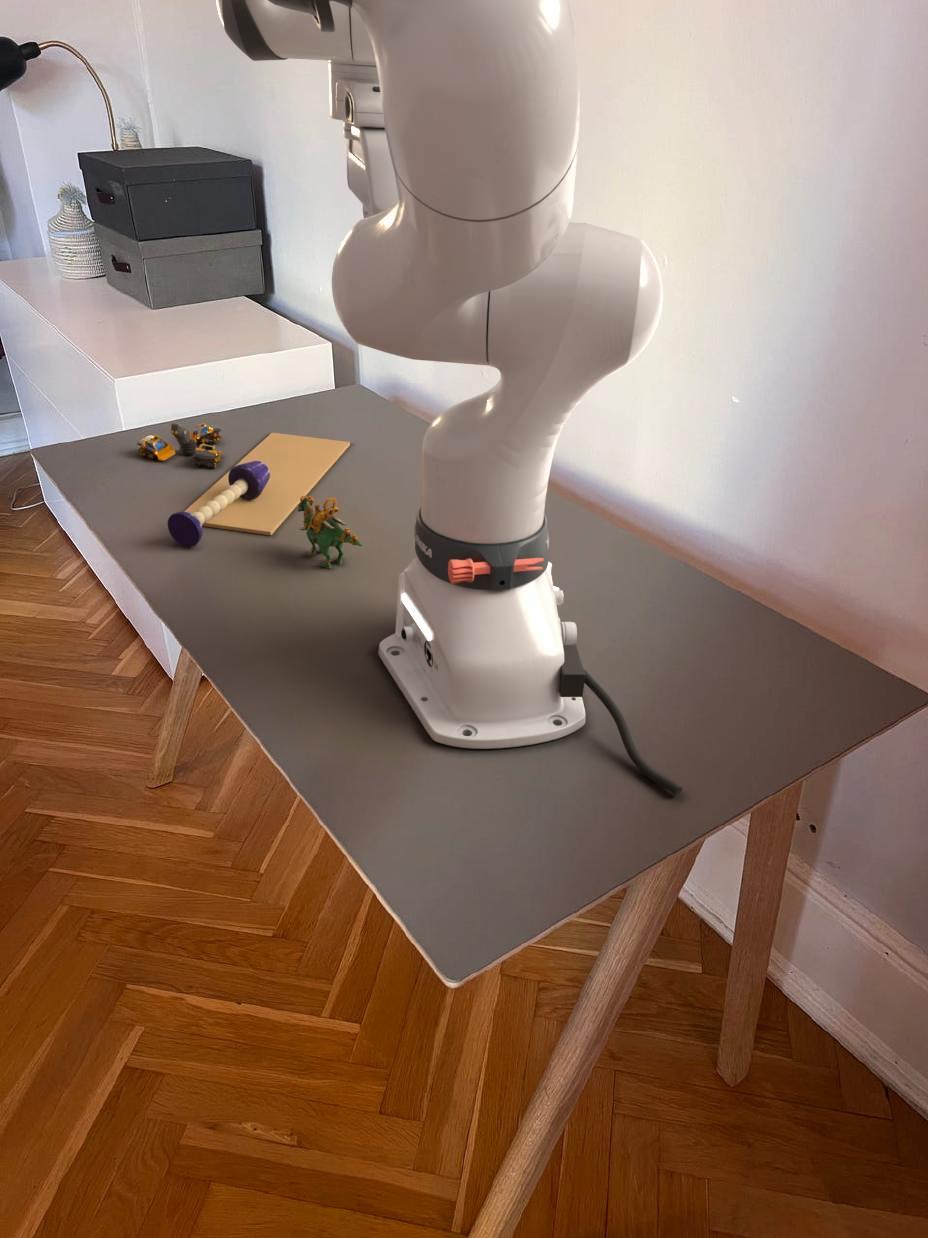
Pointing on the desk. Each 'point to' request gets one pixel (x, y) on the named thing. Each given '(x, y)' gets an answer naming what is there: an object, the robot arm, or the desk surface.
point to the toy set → (185, 445)
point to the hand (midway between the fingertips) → (376, 250)
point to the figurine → (325, 528)
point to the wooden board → (275, 482)
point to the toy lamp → (220, 502)
